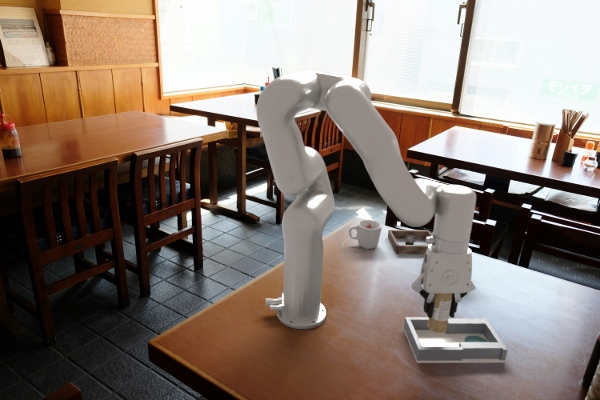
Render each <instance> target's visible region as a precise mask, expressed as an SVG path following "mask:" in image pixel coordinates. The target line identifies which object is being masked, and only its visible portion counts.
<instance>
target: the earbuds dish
mask: <svg viewBox="0 0 600 400" xmlns="http://www.w3.org/2000/svg"><path fill="white" fill-rule="evenodd" d="M406 235H414V236H415V238H414V240H426V237H431V236H432V232H431V230H429V229H428V230H427V229H423V230H422V229H388V233H387V239H388V241H389V243H390V245H391V247H392V249H393V251H394V253H395V254H396V255H425V253H426V250H427V248H428V246H429V244H428V245H427V244H425V245H424V244H423V245H422V244H414V245H405V244H399V243H398V240H399V239H400V240H401V239H405V240H406Z"/></svg>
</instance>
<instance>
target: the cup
mask: <svg viewBox="0 0 600 400" xmlns="http://www.w3.org/2000/svg"><path fill="white" fill-rule="evenodd" d="M382 225H383V224H381V223H380V222H378V221H377V220H373V219H363V220H360V221H358V223H357V225H351V226H350V227H349V229H348V236H349V237H350V239H353V240H357V241H358V245H359V247H361V248H363V249H367V250H372V249H375V248H377V246H378V245H379V241H380V236H381V233H382V227H383V226H382ZM352 230H355V231H356V234H355V235H353V234H352Z"/></svg>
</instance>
